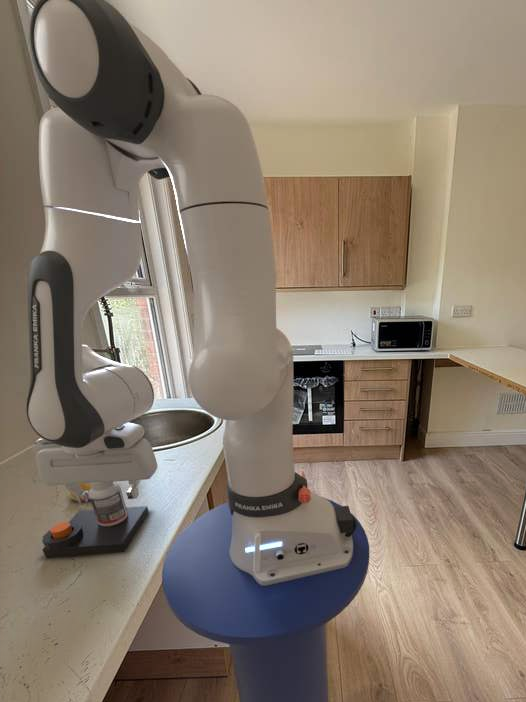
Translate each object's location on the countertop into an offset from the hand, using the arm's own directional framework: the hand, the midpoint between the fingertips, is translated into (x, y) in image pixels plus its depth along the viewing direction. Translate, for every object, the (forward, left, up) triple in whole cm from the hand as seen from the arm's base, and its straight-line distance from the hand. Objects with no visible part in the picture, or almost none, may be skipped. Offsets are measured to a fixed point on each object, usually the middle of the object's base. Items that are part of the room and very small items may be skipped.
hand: (109, 499), depth 69 cm
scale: (+2, +2, -7) cm, 7 cm away
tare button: (+7, +6, -3) cm, 9 cm away
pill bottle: (0, 0, -5) cm, 5 cm away
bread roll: (+12, -14, -7) cm, 20 cm away
